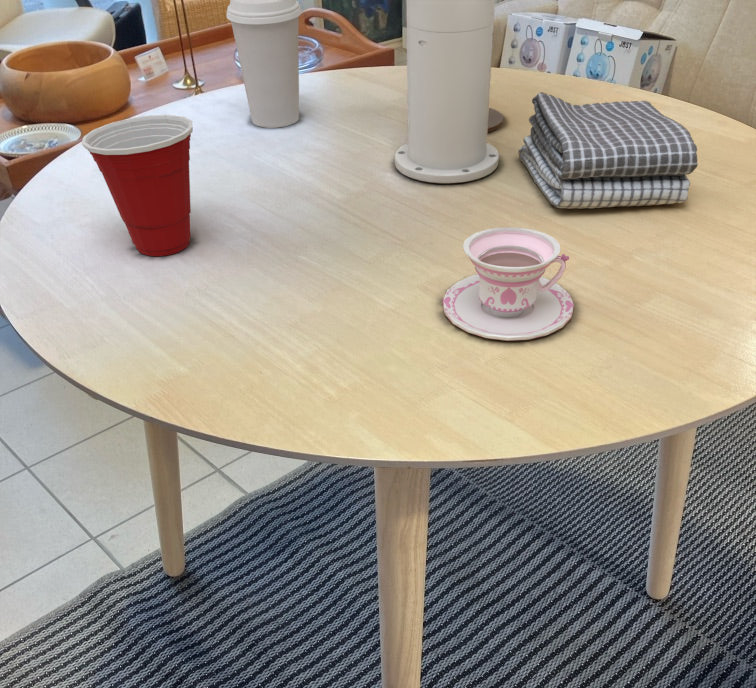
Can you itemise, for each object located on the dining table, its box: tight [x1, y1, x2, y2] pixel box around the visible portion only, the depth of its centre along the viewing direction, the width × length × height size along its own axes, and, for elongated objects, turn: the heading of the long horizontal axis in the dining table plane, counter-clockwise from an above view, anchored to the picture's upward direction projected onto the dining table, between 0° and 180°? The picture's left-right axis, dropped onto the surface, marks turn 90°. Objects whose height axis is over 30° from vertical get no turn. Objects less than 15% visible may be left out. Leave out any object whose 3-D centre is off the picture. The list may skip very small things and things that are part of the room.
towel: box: [518, 91, 699, 209], centre depth 96 cm, size 15×18×8 cm
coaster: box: [487, 107, 504, 134], centre depth 114 cm, size 10×10×1 cm
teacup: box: [442, 226, 575, 342], centre depth 77 cm, size 12×12×6 cm
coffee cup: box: [225, 0, 303, 129], centre depth 112 cm, size 10×10×15 cm
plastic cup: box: [81, 114, 194, 257], centre depth 87 cm, size 11×11×12 cm
